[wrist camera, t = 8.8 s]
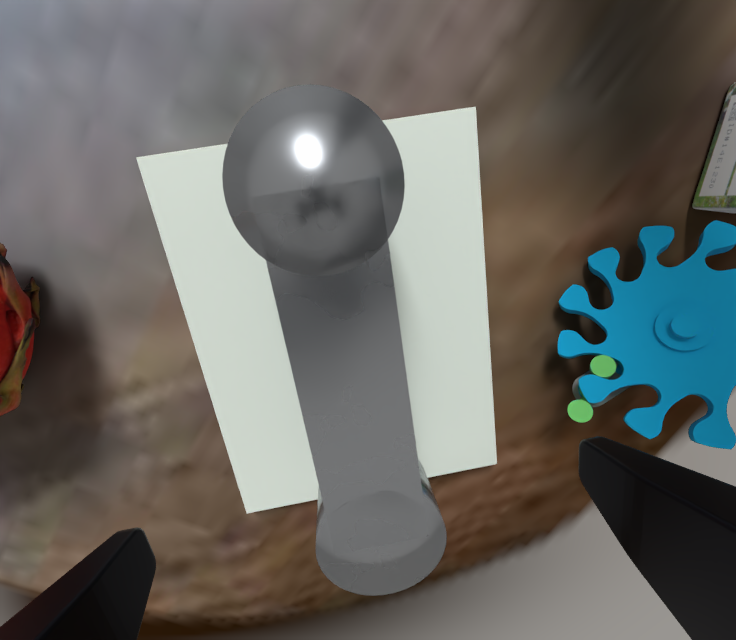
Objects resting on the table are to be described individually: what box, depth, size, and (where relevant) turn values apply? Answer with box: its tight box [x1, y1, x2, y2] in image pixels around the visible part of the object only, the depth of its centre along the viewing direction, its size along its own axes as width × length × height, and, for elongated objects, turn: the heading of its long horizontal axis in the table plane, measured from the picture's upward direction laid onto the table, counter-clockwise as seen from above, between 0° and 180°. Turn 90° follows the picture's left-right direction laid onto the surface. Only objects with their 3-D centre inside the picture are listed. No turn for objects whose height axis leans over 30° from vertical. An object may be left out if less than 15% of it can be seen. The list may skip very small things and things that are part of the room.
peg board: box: [136, 107, 497, 513], centre depth 17 cm, size 14×18×4 cm
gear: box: [558, 220, 736, 449], centre depth 19 cm, size 11×6×10 cm
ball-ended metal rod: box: [222, 85, 447, 595], centre depth 14 cm, size 5×18×3 cm, turn 9°
